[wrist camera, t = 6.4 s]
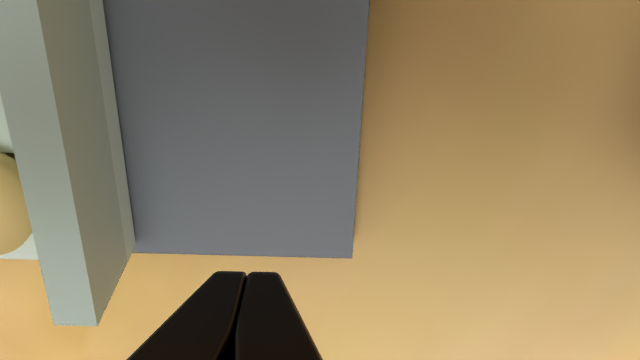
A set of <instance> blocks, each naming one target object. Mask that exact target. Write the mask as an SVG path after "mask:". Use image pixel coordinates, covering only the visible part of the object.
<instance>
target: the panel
mask: <svg viewBox="0 0 640 360" xmlns="http://www.w3.org/2000/svg"><path fill="white" fill-rule="evenodd" d="M0 152H4V153H14V155H15V159H16V164H17V168H18V172H19V177H20V181H21V185H22V190H23V194H24V198H25V203H26V207H27V211H28V216H29V220H30V224H31V228H32V233H31V235H30V236H29V237H28V239H27V240H26V241H25V242H24V244H23V245H21V246H20V247H19V248H17V249H16V250H14V251H12V252H10V253H7V254H3V255H0V259H30V260H39V263H40V267H41V272H42V276H43V280H44V285H45V289H46V293H47V298H48V302H49V306H50V311H51V315H52V319H53V324H54V325H66V326H98V324H99V322H100V320H101V317H102V315H103V313H104V311H105V309H106V307H107V305H108V302H109V300H110V298H111V296H112V294H113V292H114V290H115V288H116V285H117V283H118V281H119V279H120V277H121V275H122V273H123V270H124V268H125V266H126V264H127V262H128V260H129V258H130V255H131V253H132V251H133V249H134V247H135V245H136V242H135V235H134V228H133V220H132V213H131V206H130V198H129V191H128V184H127V176H126V169H125V162H124V154H123V147H122V140H121V132H120V125H119V118H118V111H117V103H116V96H115V89H114V81H113V74H112V67H111V59H110V52H109V45H108V37H107V30H106V23H105V15H104V8H103V1H102V0H0Z"/></svg>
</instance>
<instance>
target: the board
mask: <svg viewBox="0 0 640 360" xmlns="http://www.w3.org/2000/svg"><path fill="white" fill-rule="evenodd" d="M102 1H103V8H104V15H105V23H106V30H107V37H108V45H109V52H110V59H111V67H112V74H113V81H114V89H115V96H116V103H117V111H118V118H119V125H120V132H121V140H122V147H123V154H124V162H125V169H126V176H127V184H128V191H129V198H130V206H131V213H132V220H133V228H134V235H135V242H136V245H135V247H134V249H133V251H132V253H159V254H198V255H238V256H277V257H317V258H352V252H353V237H354V222H355V207H356V193H357V178H358V163H359V148H360V133H361V119H362V104H363V89H364V74H365V59H366V44H367V30H368V15H369V0H102ZM31 233H32V228H31V224H30V220H29V216H28V211H27V207H26V203H25V198H24V194H23V190H22V185H21V181H20V177H19V172H18V168H17V164H16V159H15V155H14V153H4V152H0V255H3V254H7V253H10V252H12V251H14V250H16V249H17V248H19V247H20V246H21V245H23V244H24V242H25V241H26V240H27V239H28V237H29V236H30V235H31Z"/></svg>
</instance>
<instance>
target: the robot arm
mask: <svg viewBox="0 0 640 360" xmlns="http://www.w3.org/2000/svg"><path fill="white" fill-rule="evenodd" d="M127 360H323V359H322V357H321V355H320V353H319V351H318V349H317V347H316V345H315V343H314V341H313V339H312V337H311V335H310V333H309V331H308V329H307V327H306V326H305V324H304V322H303V320H302V318H301V316H300V314H299V312H298V310H297V308H296V306H295V304H294V302H293V300H292V298H291V296H290V294H289V292H288V290H287V288H286V286H285V284H284V282H283V280H282V278H281V276H280V275H279V274H278V273H276V272H251V273H249V274H248V276H247V275H246V273H244V272H235V271H218V272H216V273H214V274H213V275H212V276H211V277H210V278H209V279H208V280H207V281H206V282H205V283H204V284H203V285H202V286H201V287H200V288H199V289H198V290H197V291H195V292H194V293H193V294H192V295H191V296H190V297H189V298H188V299H187V300H186V301H185V302H184V303H183V304H182V305H181V306H180V307H179V308H178V309H177V310H176V311H175V312H174V313H173V314H172V315H171V316H170V317H169V318H168V319H167V320H166V321H165V322H164V323H163V324H162V325H161V326H160V327H159V328H158V329H157V330H156V331H155V332H154V333H153V334H152V335H151V336H150V337H149V338H148V339H147V340H146V341H145V342H144V343H143V344H142V345H141V346H140V347H139V348H138V349H137V350H136V351H135V352H134V353H133V354H132V355H131V356H130V357H129V358H128V359H127Z"/></svg>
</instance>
